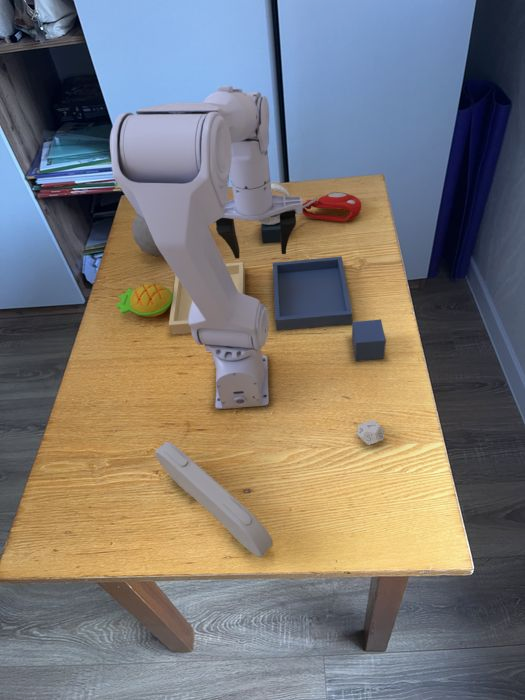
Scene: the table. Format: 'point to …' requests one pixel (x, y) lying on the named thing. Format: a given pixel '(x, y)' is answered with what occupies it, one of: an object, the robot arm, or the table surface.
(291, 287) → the blue tray
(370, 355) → the blue block
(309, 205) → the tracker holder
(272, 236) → the watch
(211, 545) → the table surface
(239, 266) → the beige tray
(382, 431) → the game die
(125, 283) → the table surface
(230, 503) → the game controller
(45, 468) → the table surface
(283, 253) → the robot arm
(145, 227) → the decorative ball
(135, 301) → the toy pineapple
